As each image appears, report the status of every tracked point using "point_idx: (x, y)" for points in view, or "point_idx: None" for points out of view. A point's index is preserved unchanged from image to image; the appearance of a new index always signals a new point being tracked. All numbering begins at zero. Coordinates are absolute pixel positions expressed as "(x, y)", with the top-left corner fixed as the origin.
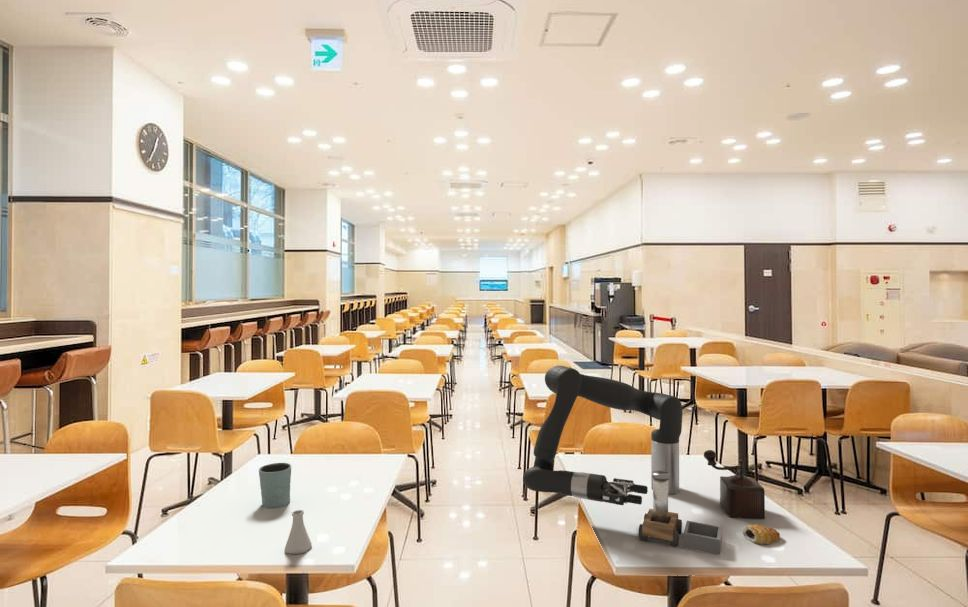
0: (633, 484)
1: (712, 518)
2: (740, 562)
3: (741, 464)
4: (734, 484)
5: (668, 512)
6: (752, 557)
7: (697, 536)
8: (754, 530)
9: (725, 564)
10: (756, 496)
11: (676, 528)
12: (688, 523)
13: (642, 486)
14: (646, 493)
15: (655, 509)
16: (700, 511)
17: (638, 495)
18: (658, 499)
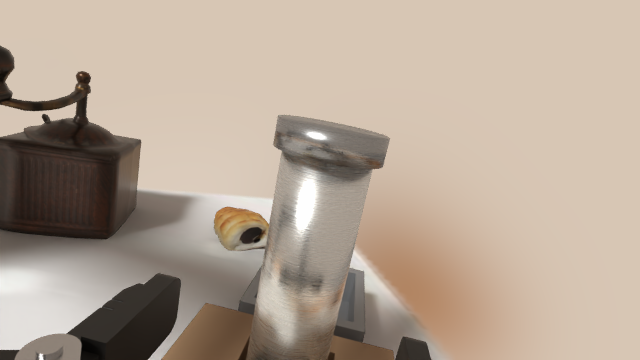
0: (82, 348)
1: (101, 266)
2: (371, 287)
3: (88, 86)
4: (96, 146)
5: (195, 331)
6: None
7: (363, 305)
8: (261, 222)
9: (399, 311)
10: (134, 161)
11: None
12: None
13: (161, 295)
14: (172, 324)
15: (323, 348)
16: (24, 274)
17: (407, 349)
18: (345, 280)
